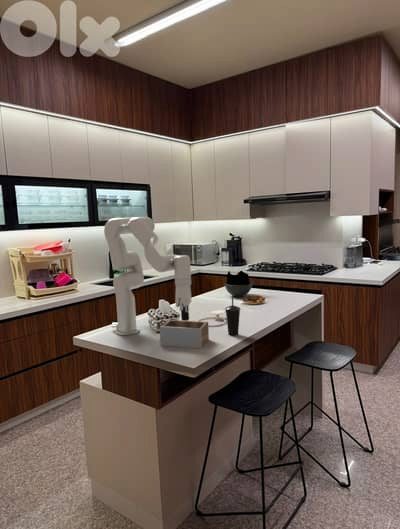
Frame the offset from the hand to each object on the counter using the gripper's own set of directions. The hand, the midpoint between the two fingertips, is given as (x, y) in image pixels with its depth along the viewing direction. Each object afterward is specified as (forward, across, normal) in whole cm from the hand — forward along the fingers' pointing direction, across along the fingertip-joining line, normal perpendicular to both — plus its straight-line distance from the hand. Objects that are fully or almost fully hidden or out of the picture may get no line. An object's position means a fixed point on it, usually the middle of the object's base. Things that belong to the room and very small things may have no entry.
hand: (185, 320), depth 174 cm
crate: (+11, 0, -1) cm, 11 cm away
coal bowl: (+11, -102, +5) cm, 103 cm away
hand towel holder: (+12, -37, +3) cm, 39 cm away
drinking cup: (+12, -16, +19) cm, 28 cm away
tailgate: (+11, +6, -1) cm, 13 cm away
